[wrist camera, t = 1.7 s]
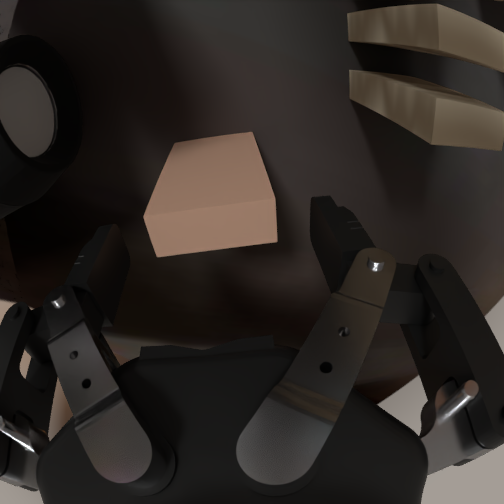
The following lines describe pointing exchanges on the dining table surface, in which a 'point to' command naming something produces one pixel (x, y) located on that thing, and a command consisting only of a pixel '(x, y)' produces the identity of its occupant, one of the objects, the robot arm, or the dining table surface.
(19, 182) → the portable speaker
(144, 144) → the dining table surface
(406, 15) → the tile
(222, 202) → the tile
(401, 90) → the tile
